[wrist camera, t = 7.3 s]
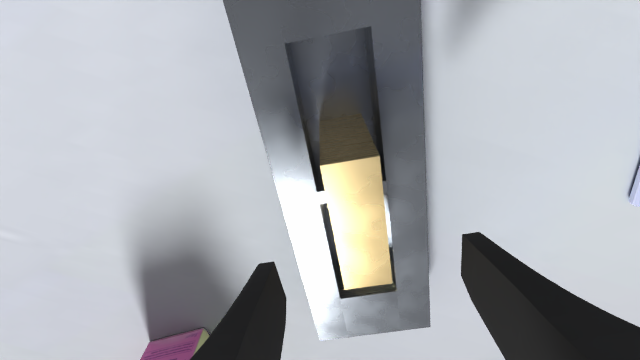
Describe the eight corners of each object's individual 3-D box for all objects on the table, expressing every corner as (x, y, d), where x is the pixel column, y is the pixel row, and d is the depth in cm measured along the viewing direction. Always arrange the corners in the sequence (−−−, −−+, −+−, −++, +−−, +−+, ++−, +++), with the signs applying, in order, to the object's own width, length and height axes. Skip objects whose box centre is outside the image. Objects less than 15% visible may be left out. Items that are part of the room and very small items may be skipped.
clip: (361, 113, 18) (379, 155, 12) (373, 215, 21) (392, 283, 16) (319, 120, 18) (319, 165, 13) (337, 220, 21) (344, 289, 16)
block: (398, -84, 14) (417, -107, 11) (418, 293, 25) (430, 326, 22) (226, -45, 15) (206, -58, 12) (319, 307, 26) (320, 340, 23)
